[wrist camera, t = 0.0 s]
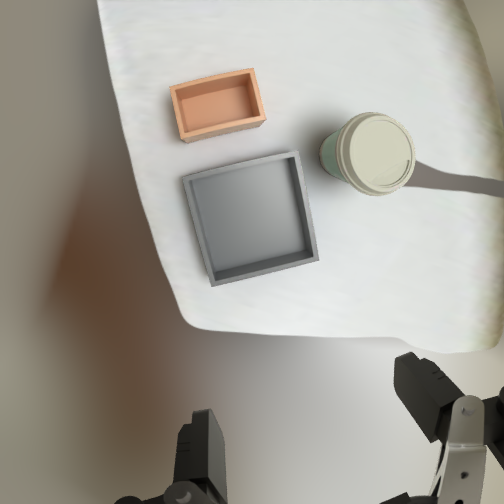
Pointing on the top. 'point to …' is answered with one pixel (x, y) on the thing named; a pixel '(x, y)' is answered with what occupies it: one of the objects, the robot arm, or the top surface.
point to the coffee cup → (370, 154)
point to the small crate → (217, 105)
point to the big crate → (252, 217)
